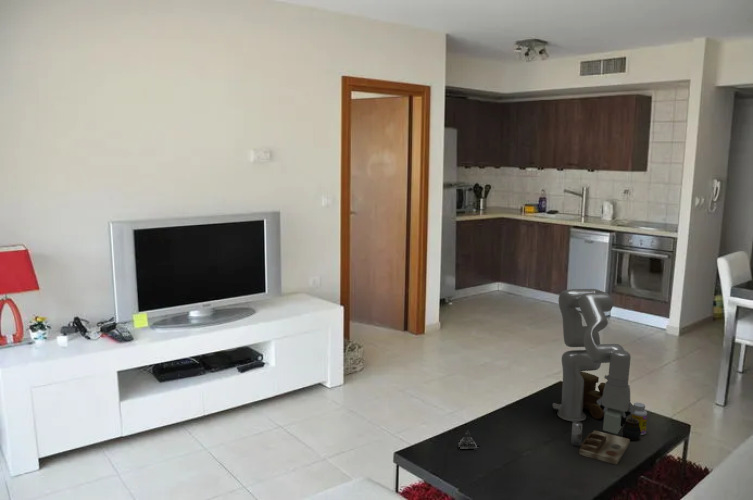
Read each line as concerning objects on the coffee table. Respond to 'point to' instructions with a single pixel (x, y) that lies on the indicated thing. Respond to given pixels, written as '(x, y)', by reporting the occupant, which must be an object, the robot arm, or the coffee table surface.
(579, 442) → the peg
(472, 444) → the house of cards
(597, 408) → the wooden toy train
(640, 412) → the supplement bottle
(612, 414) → the housing
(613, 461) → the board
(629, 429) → the mate gourd
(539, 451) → the coffee table surface
